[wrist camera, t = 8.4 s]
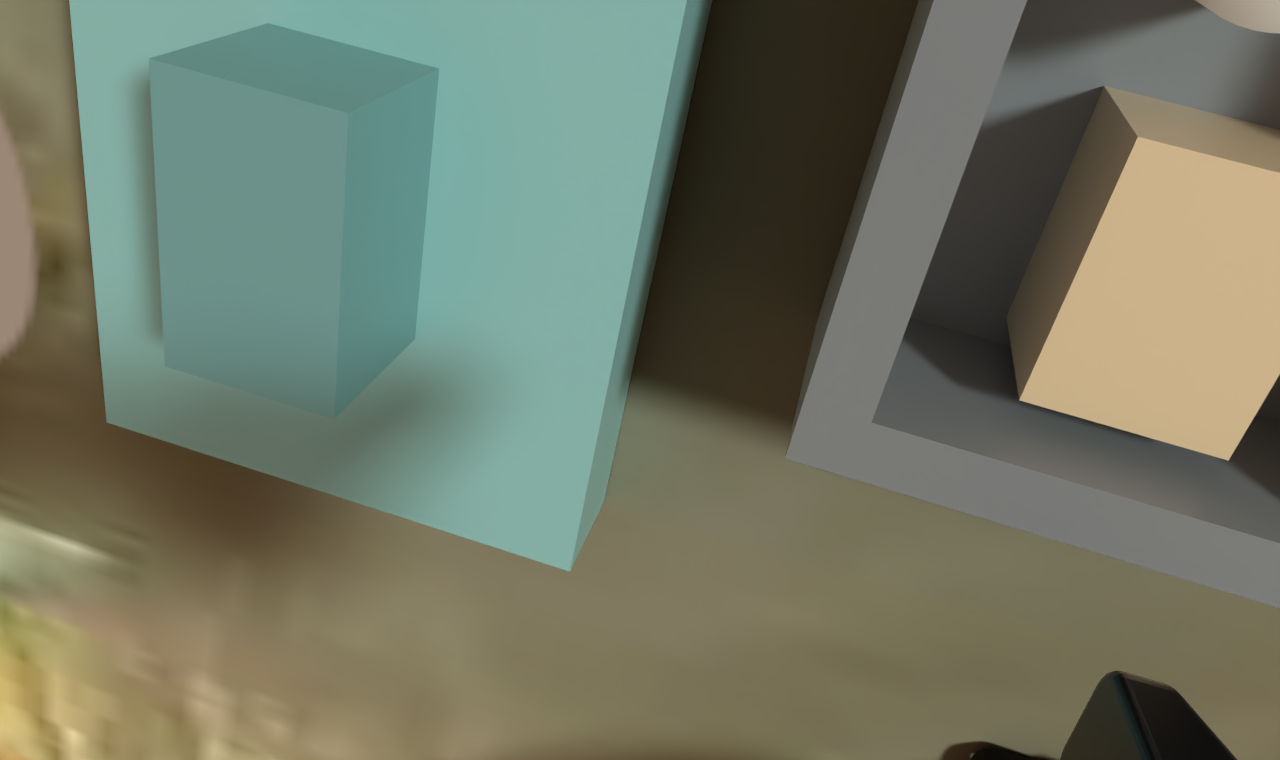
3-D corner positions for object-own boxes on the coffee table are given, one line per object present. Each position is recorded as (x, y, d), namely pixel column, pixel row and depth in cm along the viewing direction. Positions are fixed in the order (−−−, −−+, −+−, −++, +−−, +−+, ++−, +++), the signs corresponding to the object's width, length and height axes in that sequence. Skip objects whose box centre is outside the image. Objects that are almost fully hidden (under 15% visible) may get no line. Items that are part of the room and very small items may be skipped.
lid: (603, 501, 23) (518, 677, 18) (179, 369, 24) (-4, 501, 19) (750, -174, 16) (675, -174, 11) (150, -311, 17) (-143, -362, 13)
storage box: (1304, 459, 19) (1415, 649, 14) (817, 320, 20) (784, 458, 15) (1814, -338, 13) (2270, -423, 8) (1070, -478, 14) (1133, -617, 9)
